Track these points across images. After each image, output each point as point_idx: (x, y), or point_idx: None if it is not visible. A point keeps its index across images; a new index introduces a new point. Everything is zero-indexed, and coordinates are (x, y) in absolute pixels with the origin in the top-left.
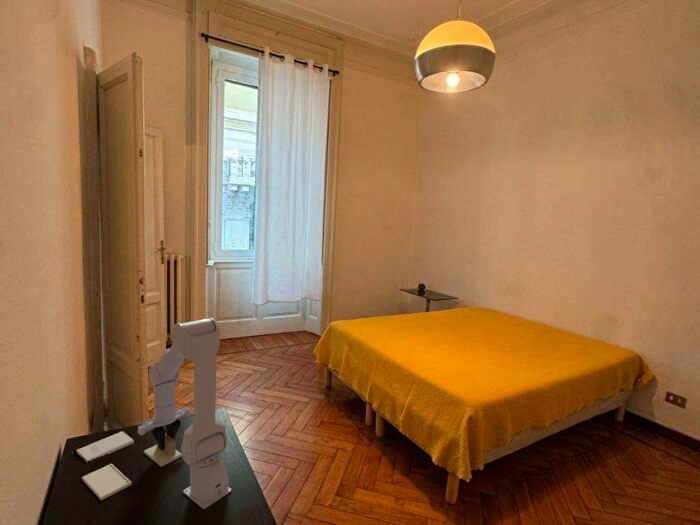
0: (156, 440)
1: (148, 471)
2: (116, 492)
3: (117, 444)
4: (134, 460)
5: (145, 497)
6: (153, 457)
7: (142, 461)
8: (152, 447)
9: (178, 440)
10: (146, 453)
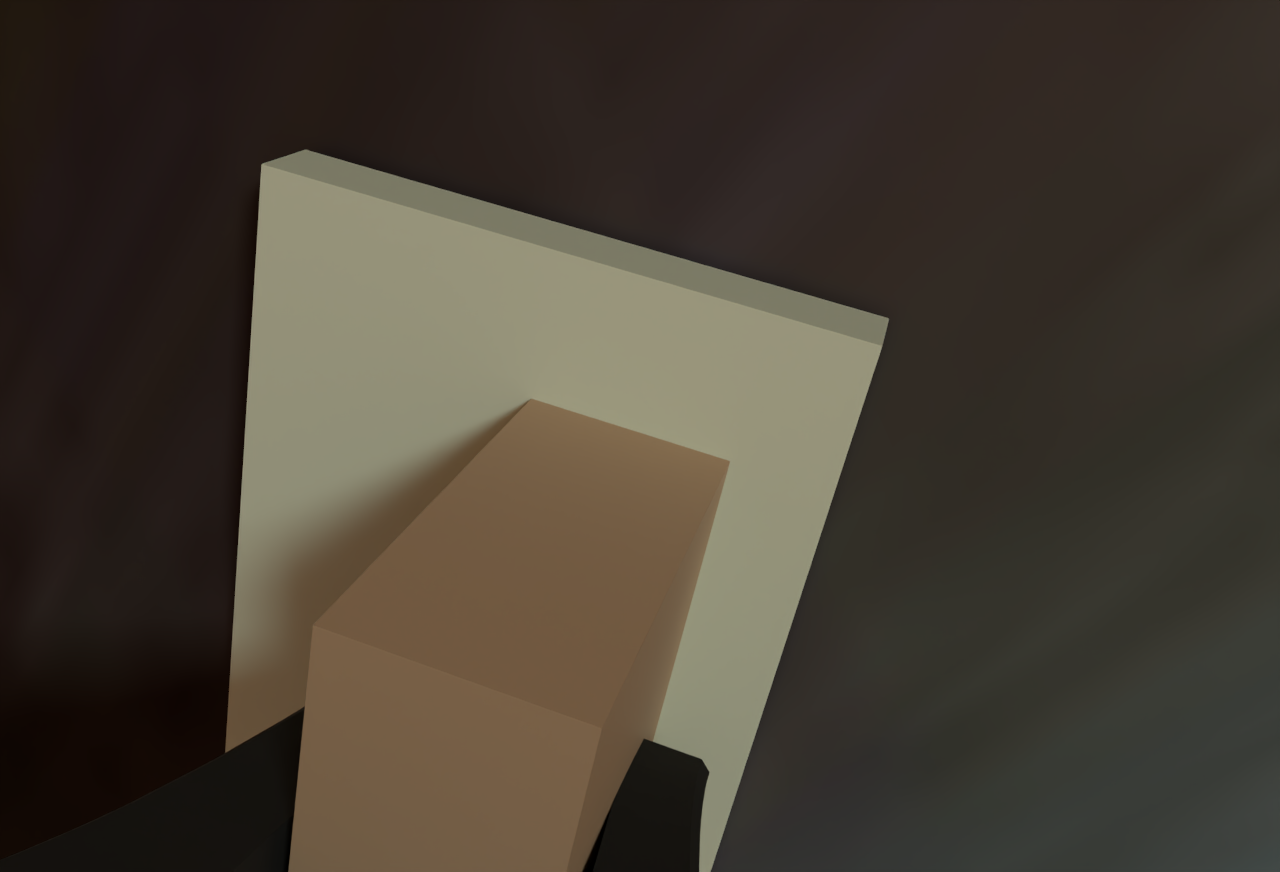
0: (200, 772)
1: (65, 727)
2: None
3: None
4: (43, 175)
5: None
6: (243, 627)
7: (135, 386)
8: (481, 267)
9: (1230, 570)
10: (268, 304)
